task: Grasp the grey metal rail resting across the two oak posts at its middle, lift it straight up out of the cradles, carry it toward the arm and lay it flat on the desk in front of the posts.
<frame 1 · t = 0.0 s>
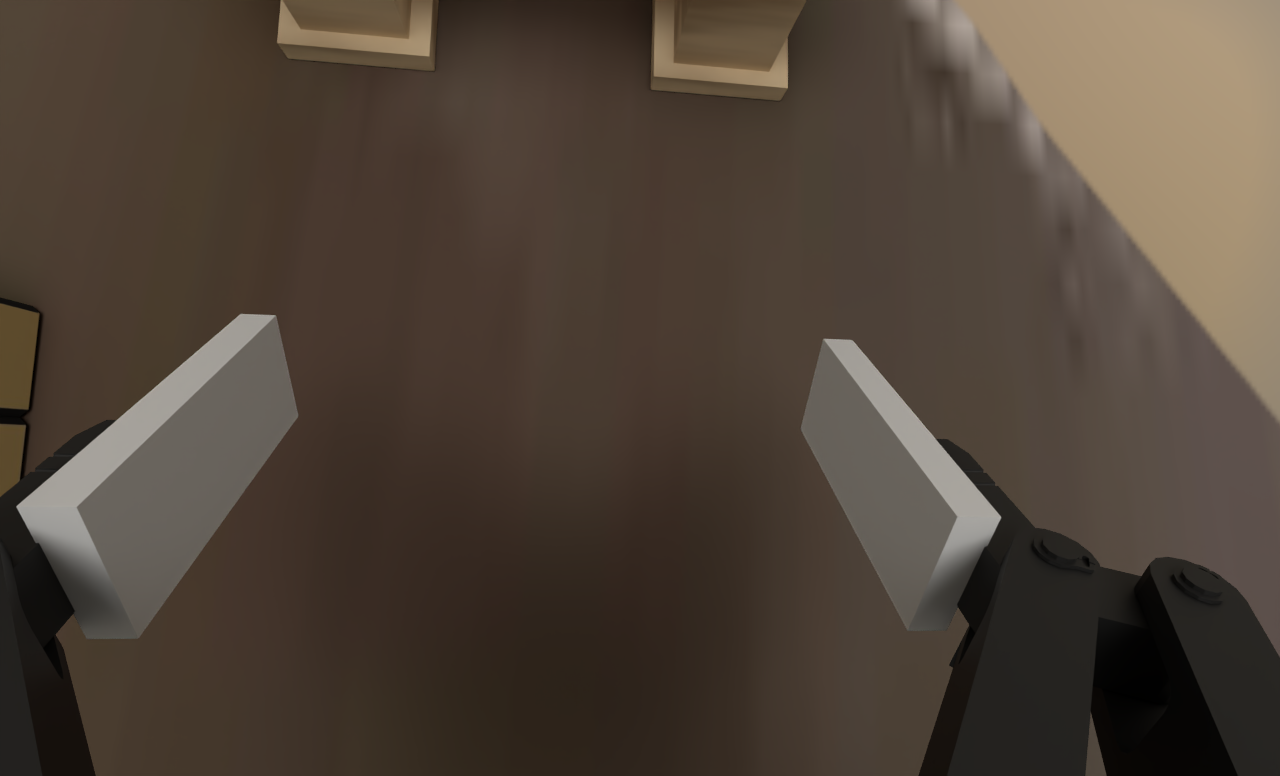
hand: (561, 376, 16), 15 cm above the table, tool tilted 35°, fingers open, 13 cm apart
post 1: (716, 24, 34), on the table
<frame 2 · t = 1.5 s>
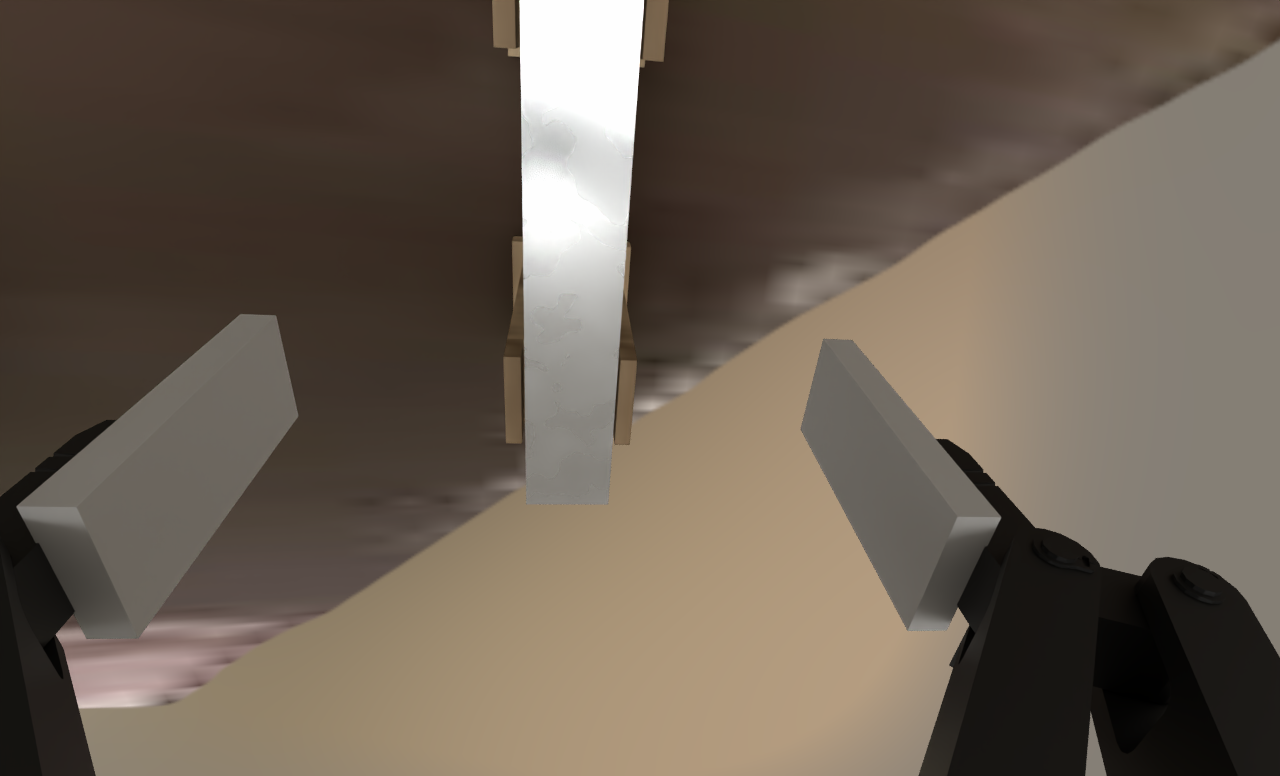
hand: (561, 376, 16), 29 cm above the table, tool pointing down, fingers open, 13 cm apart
rail: (574, 212, 29), point 14 cm above the table, touching post 2, post 1
post 1: (570, 286, 45), on the table
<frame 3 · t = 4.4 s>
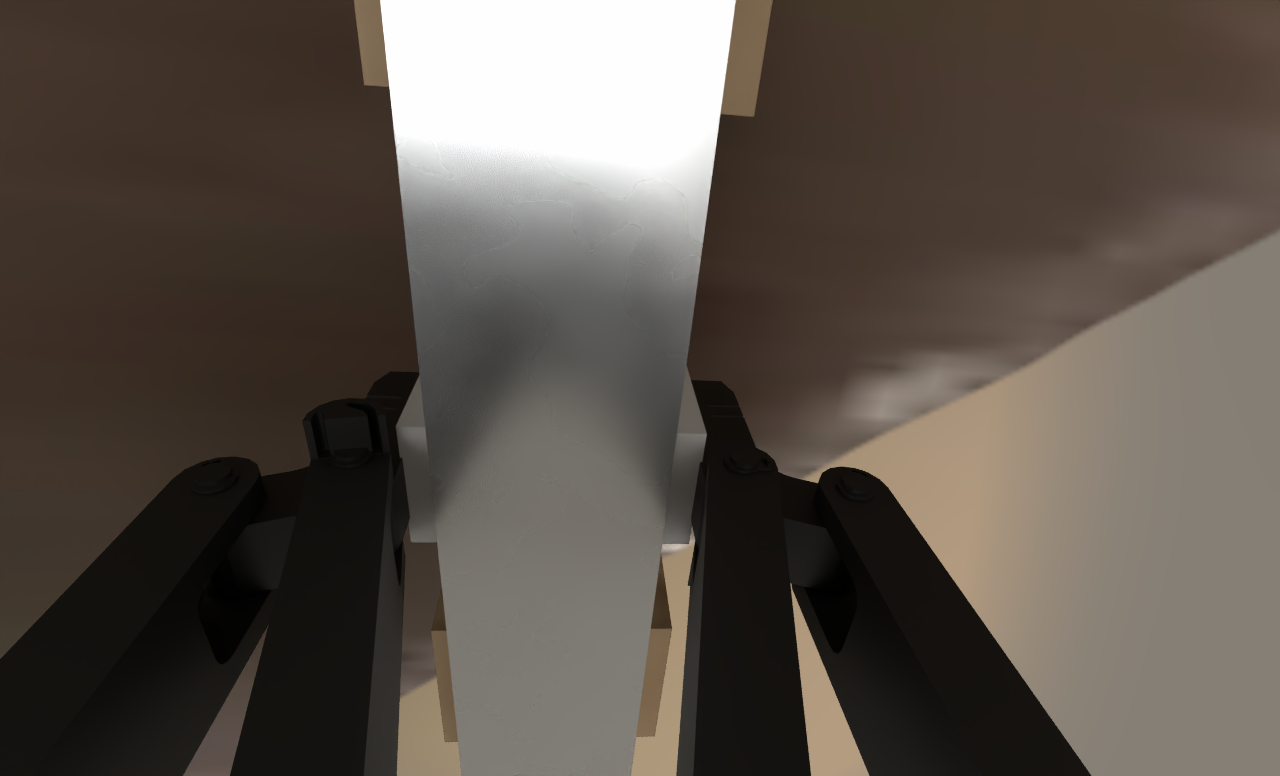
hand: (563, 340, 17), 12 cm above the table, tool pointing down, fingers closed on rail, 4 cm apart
rail: (560, 382, 15), point 14 cm above the table, touching gripper, post 2, post 1
post 1: (565, 399, 32), on the table
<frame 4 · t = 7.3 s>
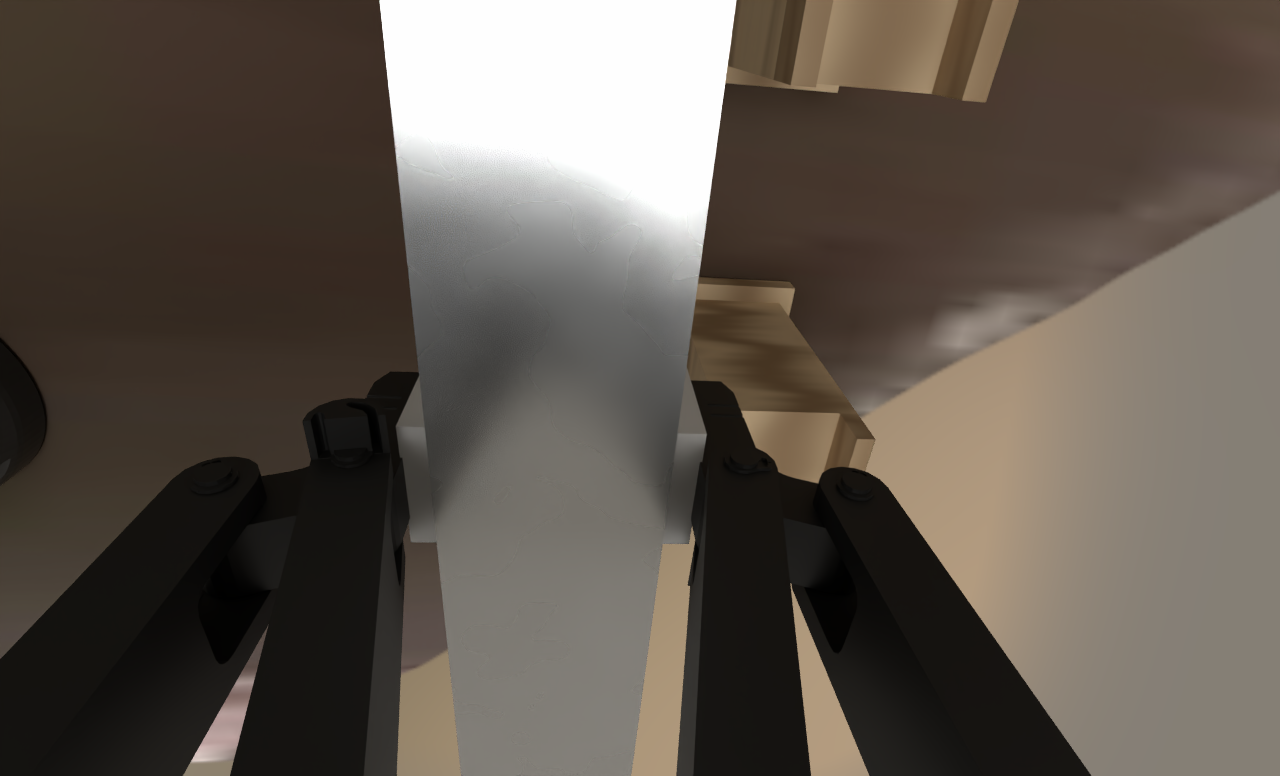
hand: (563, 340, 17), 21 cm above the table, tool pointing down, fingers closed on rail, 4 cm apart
post 2: (770, 8, 32), on the table
rail: (560, 383, 15), point 23 cm above the table, touching gripper
post 1: (719, 329, 41), on the table
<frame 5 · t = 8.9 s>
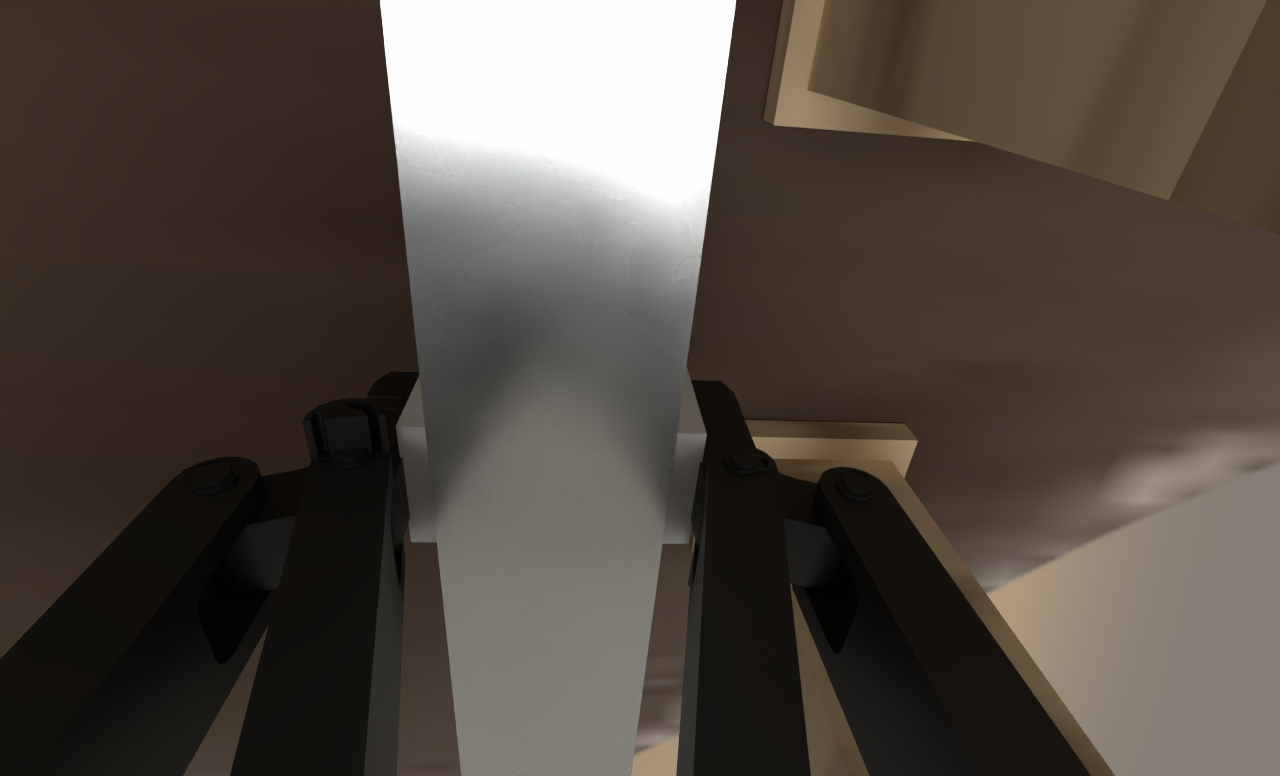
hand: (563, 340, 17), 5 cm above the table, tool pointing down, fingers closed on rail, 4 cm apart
rail: (560, 382, 15), point 7 cm above the table, touching gripper
post 1: (792, 489, 27), on the table
when the fingers open (0 cm above the table, at t = 10.5 s): rail drops 3 cm, on the table.
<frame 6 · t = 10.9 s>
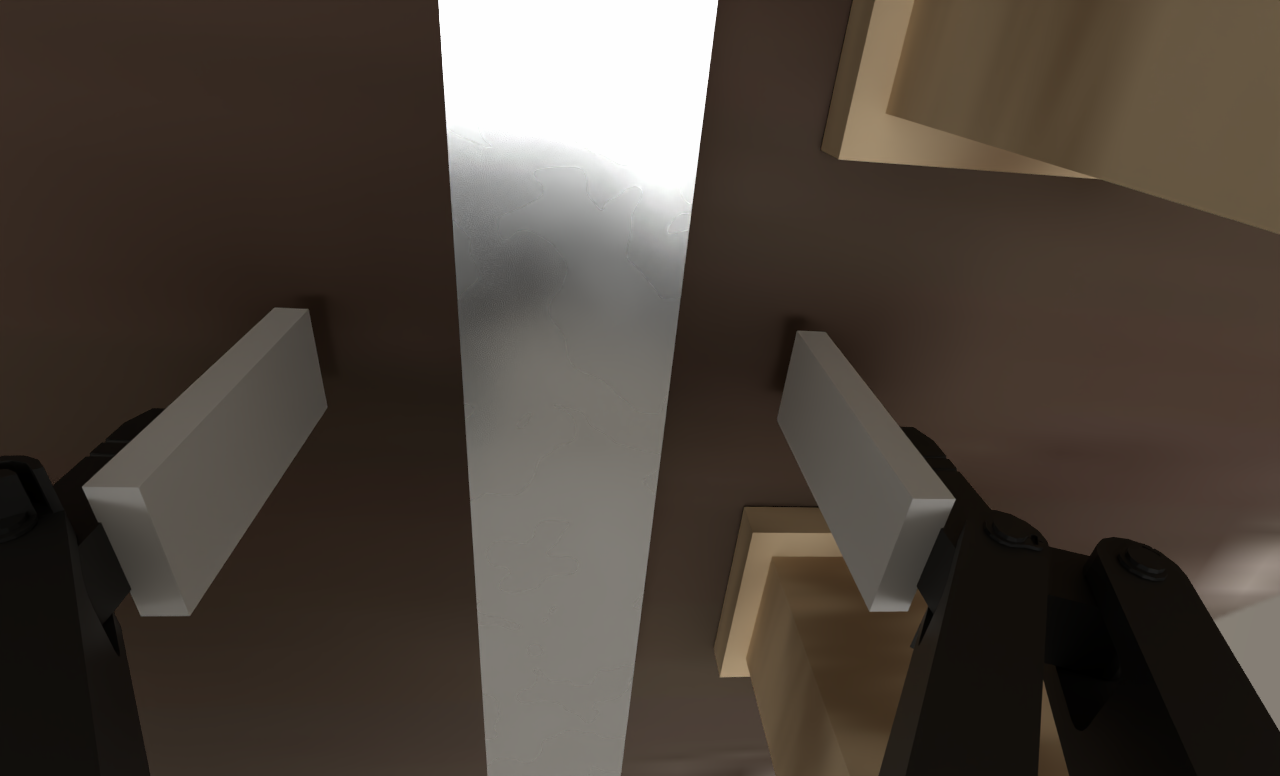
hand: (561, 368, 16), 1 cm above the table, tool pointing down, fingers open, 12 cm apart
rail: (569, 341, 17), on the table
post 1: (836, 583, 23), on the table
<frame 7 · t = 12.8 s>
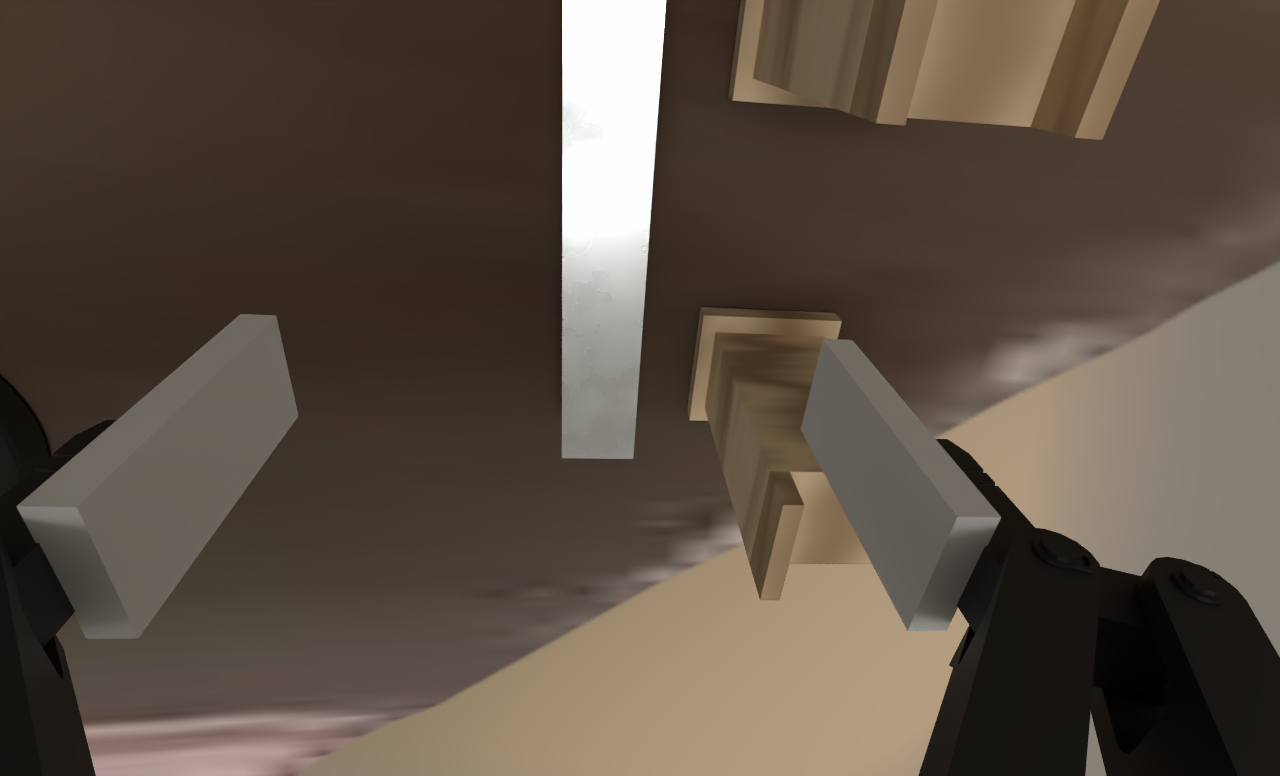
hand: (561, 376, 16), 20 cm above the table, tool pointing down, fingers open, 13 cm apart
post 2: (822, 22, 29), on the table
rail: (604, 202, 33), on the table
post 1: (758, 363, 38), on the table
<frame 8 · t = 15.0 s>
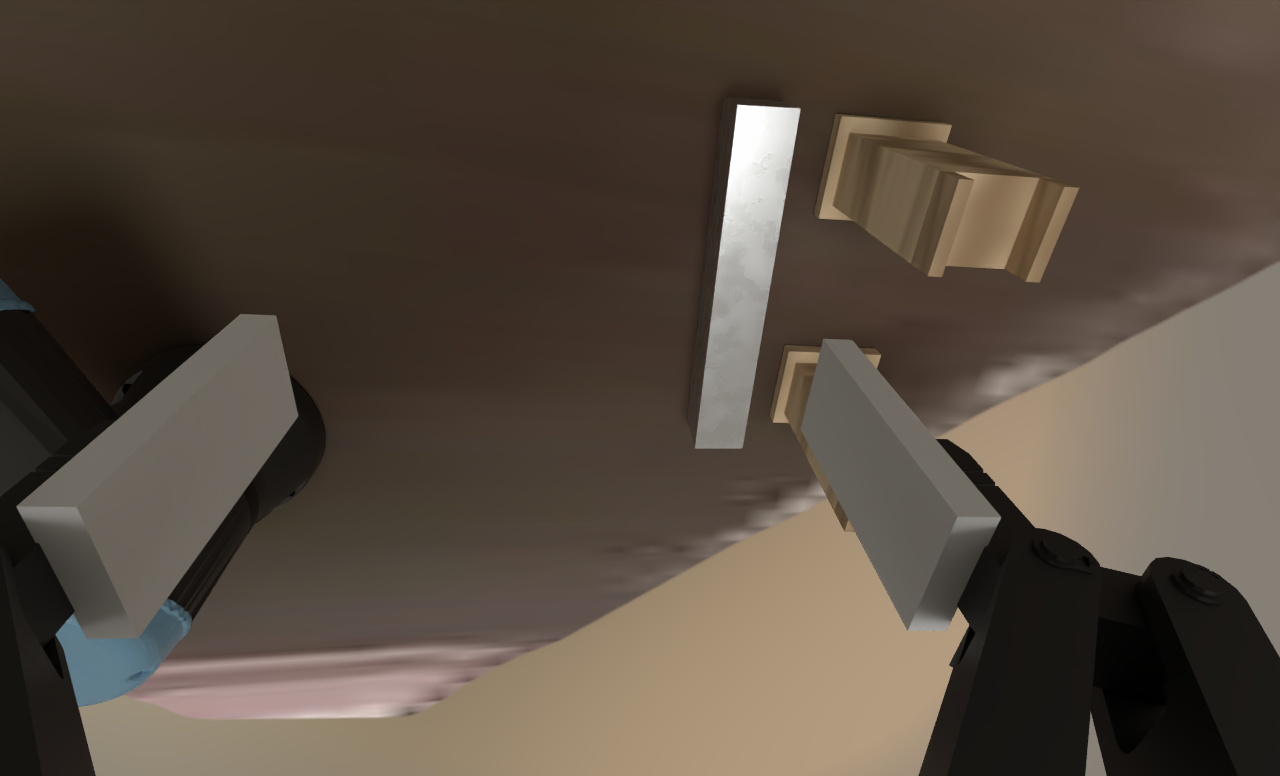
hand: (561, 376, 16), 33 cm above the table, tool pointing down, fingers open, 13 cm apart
post 2: (876, 169, 46), on the table
rail: (726, 277, 50), on the table
post 1: (821, 382, 55), on the table
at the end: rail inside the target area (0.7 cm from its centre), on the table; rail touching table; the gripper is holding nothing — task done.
